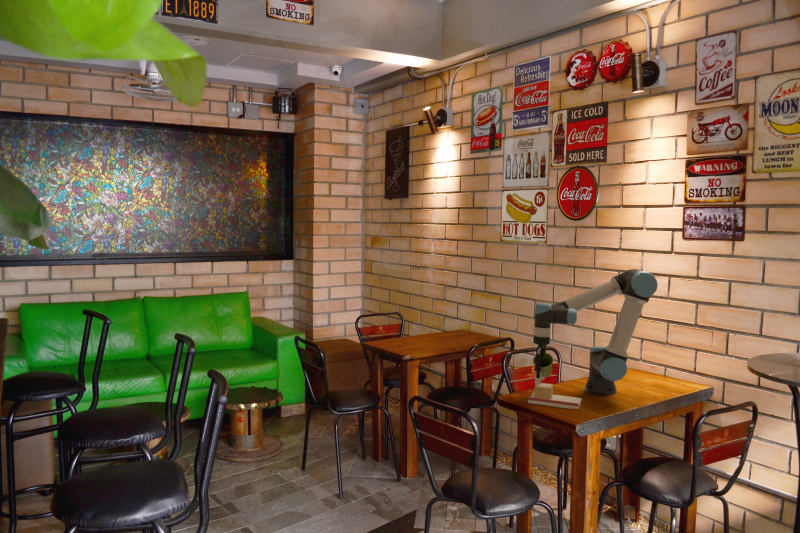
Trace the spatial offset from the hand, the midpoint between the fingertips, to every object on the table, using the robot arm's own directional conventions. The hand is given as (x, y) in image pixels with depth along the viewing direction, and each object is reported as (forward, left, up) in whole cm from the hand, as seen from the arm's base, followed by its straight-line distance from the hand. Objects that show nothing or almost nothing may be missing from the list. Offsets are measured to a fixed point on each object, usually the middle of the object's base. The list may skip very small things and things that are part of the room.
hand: (539, 381), depth 286 cm
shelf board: (-8, +1, -9) cm, 12 cm away
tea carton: (-2, +3, -5) cm, 6 cm away
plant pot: (-2, -2, +4) cm, 5 cm away
